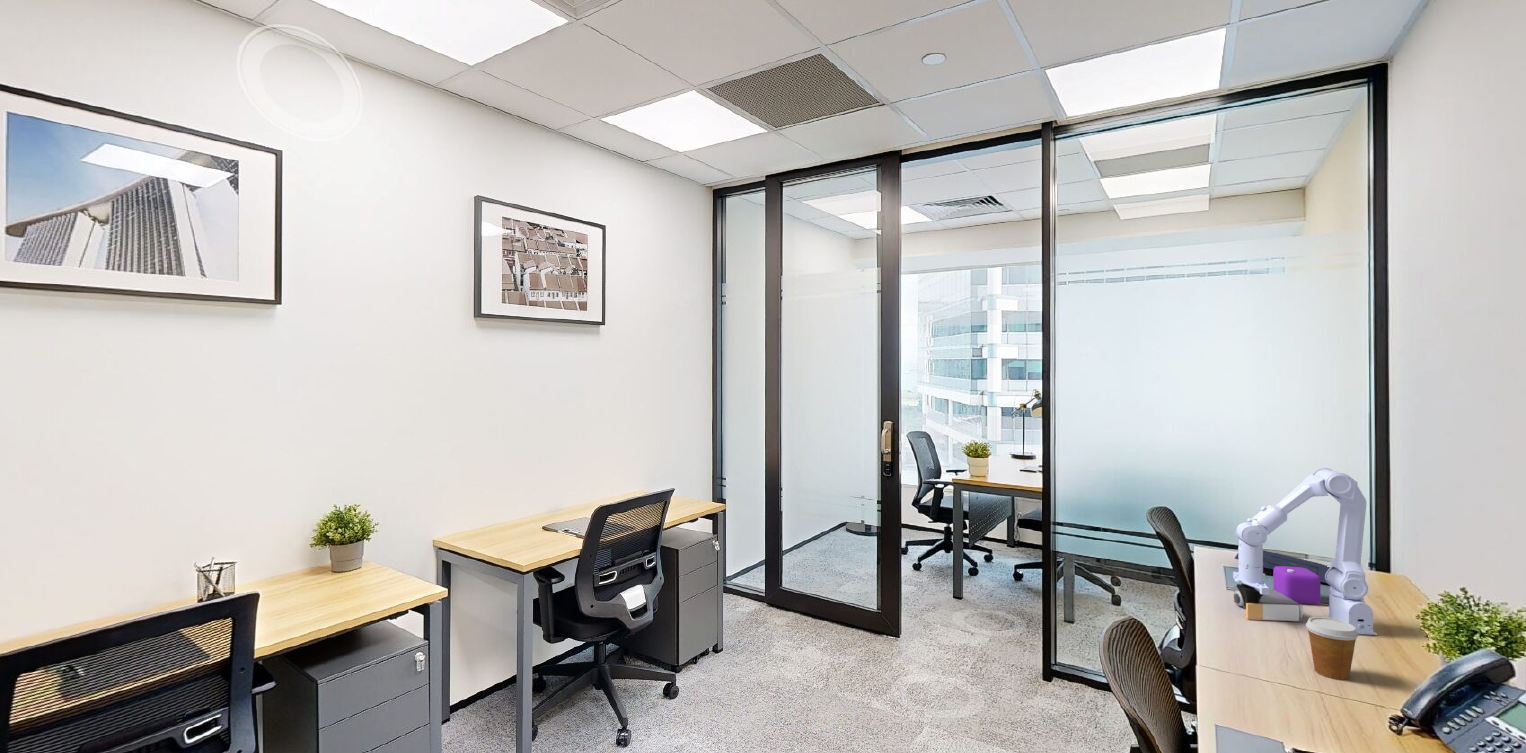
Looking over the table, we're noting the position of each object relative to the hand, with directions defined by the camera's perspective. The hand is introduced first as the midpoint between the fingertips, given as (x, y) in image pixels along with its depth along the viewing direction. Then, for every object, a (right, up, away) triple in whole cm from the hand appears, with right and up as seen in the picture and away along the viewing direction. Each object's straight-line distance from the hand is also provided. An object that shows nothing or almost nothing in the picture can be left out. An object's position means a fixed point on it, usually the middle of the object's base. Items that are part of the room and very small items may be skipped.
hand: (1250, 610), depth 189 cm
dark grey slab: (+45, -1, +41) cm, 61 cm away
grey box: (+8, -2, +5) cm, 9 cm away
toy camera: (+25, -2, +15) cm, 29 cm away
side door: (+4, -2, -3) cm, 5 cm away
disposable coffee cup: (-7, -3, -35) cm, 35 cm away
